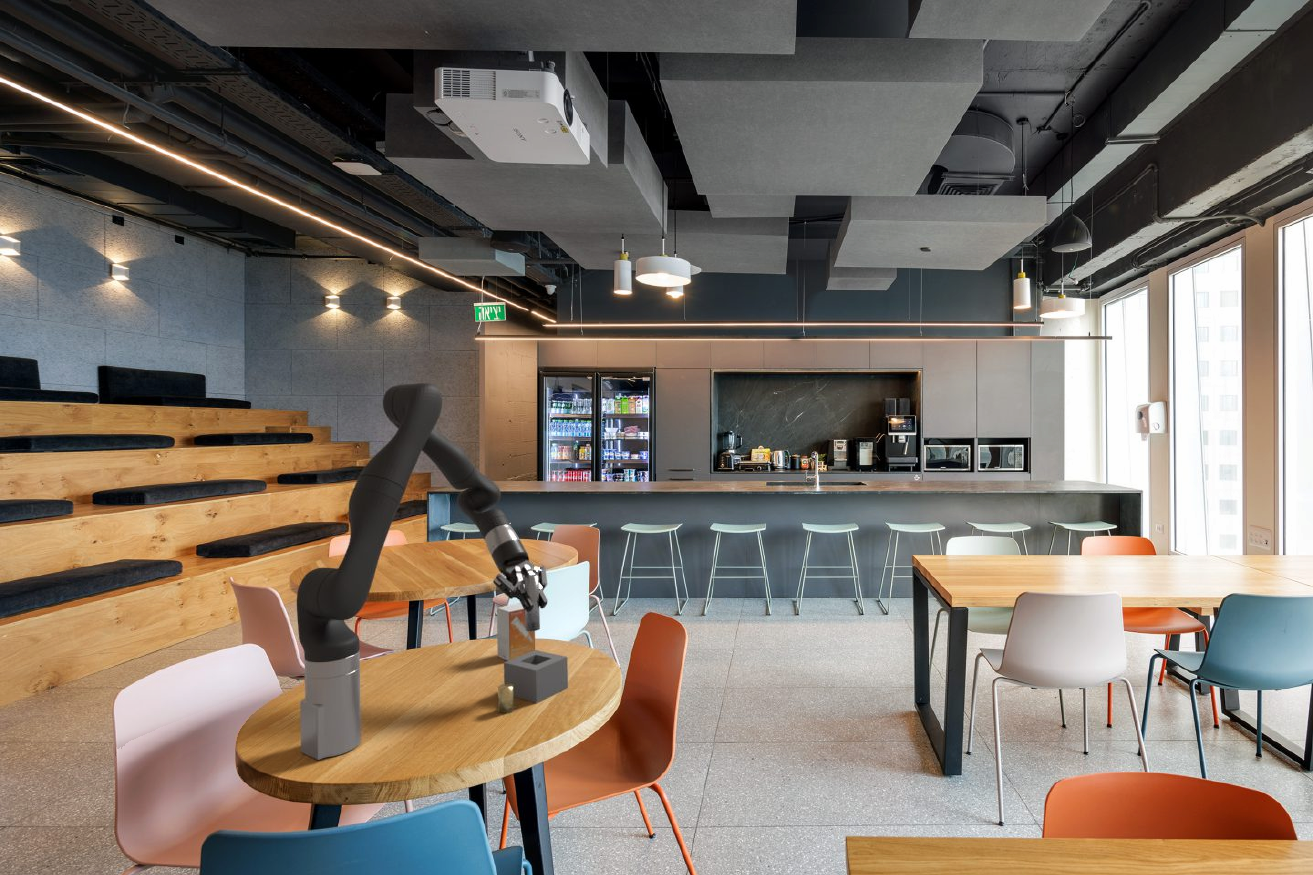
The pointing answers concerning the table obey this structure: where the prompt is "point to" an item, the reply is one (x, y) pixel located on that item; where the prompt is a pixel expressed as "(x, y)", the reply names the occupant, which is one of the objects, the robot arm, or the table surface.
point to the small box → (513, 632)
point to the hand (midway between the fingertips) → (537, 607)
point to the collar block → (536, 675)
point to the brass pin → (506, 698)
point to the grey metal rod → (533, 592)
